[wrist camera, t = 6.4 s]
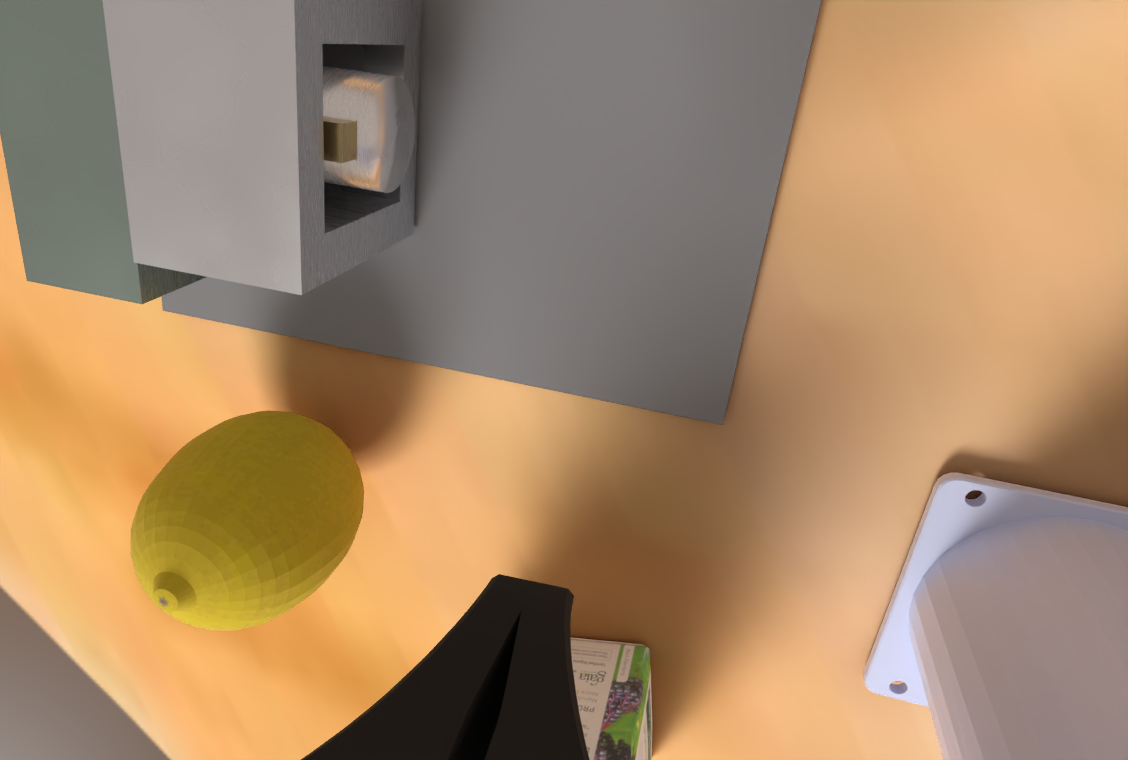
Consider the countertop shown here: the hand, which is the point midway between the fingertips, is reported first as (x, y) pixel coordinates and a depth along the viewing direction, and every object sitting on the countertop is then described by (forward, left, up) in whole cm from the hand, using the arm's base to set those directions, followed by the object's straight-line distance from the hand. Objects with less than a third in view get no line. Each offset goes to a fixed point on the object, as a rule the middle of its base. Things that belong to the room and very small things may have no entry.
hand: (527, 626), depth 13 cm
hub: (+8, -7, -10) cm, 15 cm away
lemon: (+9, +4, -11) cm, 15 cm away
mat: (+6, -7, -10) cm, 14 cm away
